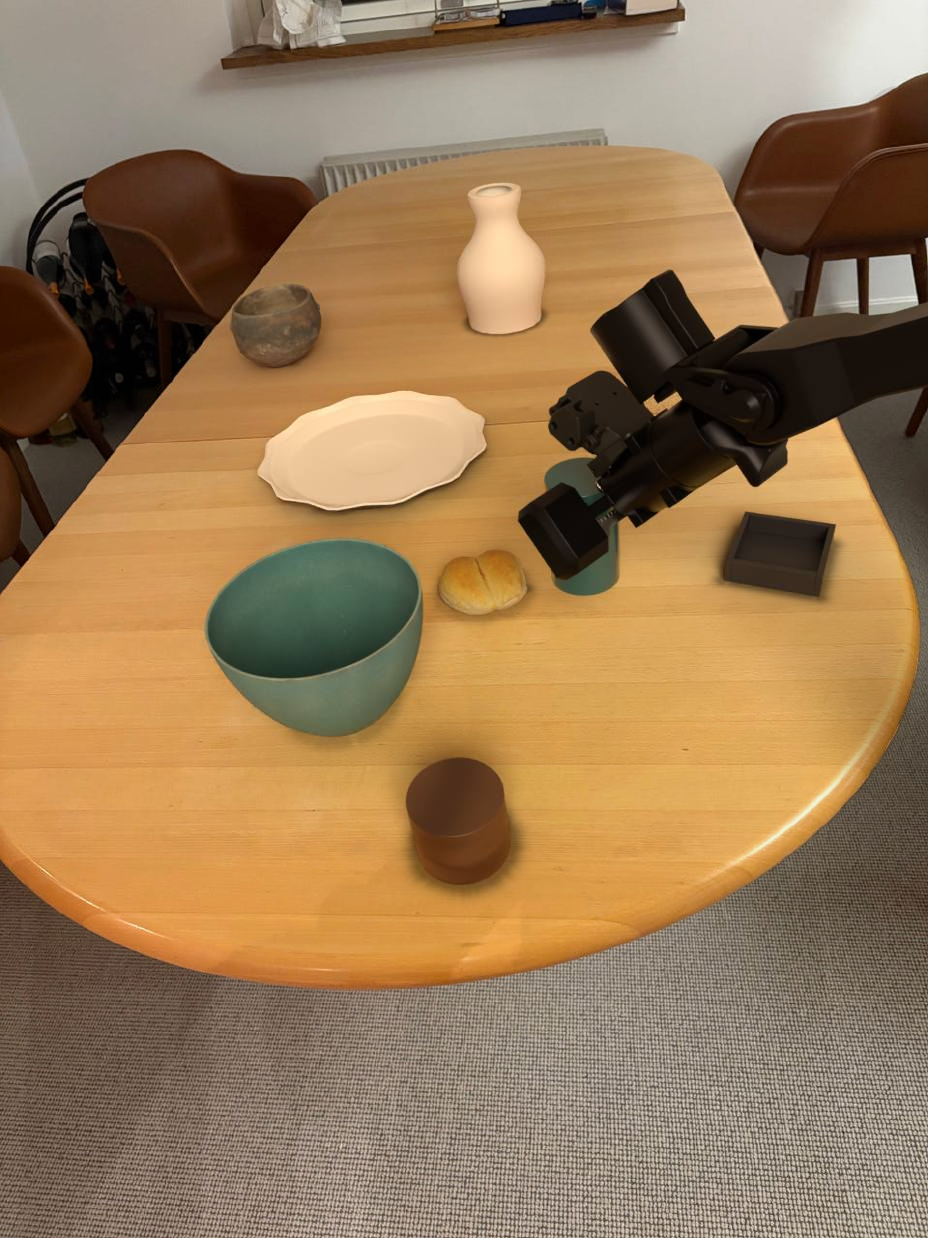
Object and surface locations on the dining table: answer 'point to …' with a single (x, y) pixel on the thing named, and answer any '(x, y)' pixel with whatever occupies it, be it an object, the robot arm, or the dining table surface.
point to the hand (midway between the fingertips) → (571, 525)
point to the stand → (459, 820)
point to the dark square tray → (780, 553)
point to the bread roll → (483, 583)
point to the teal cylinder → (608, 566)
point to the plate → (373, 451)
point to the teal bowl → (320, 633)
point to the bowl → (276, 324)
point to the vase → (500, 264)
